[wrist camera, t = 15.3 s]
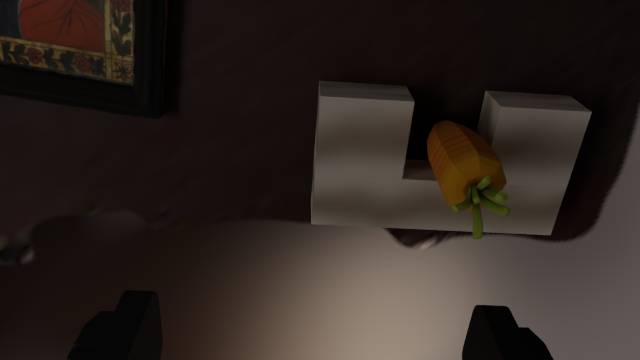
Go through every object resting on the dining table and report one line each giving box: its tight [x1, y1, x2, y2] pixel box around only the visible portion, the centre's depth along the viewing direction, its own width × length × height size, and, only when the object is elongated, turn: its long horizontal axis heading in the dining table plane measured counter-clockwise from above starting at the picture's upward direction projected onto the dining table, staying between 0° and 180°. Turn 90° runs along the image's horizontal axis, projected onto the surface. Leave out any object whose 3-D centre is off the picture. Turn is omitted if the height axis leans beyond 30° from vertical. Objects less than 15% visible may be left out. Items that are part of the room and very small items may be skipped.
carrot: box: [427, 120, 511, 239], centre depth 40 cm, size 5×5×15 cm
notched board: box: [311, 81, 592, 235], centre depth 46 cm, size 12×22×4 cm, turn 86°
